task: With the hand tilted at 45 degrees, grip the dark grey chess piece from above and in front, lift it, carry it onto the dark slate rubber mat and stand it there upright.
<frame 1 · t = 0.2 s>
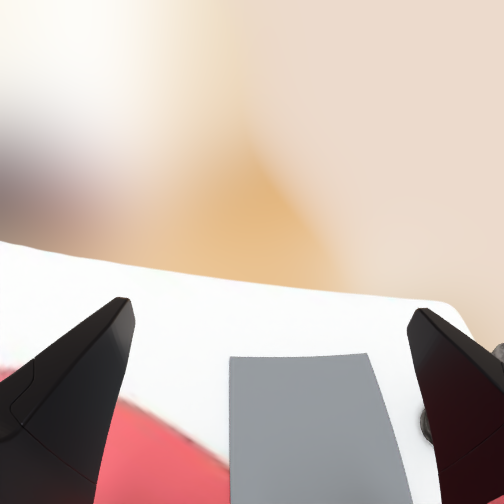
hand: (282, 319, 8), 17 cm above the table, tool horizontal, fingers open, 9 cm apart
mat: (317, 442, 19), on the table
dark grey chess piece: (440, 424, 19), on the table
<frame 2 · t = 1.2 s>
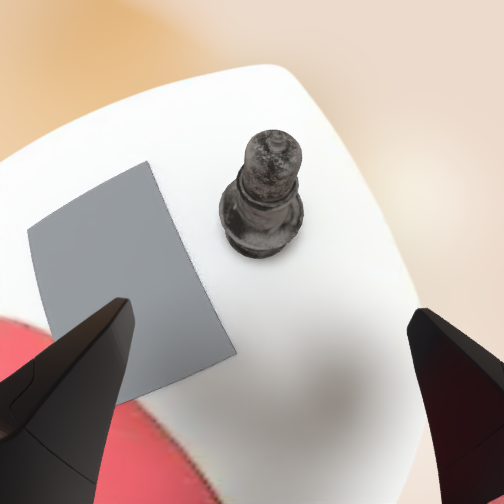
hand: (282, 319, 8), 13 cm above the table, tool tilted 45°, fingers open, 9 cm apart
mat: (109, 285, 21), on the table
dark grey chess piece: (257, 227, 23), on the table
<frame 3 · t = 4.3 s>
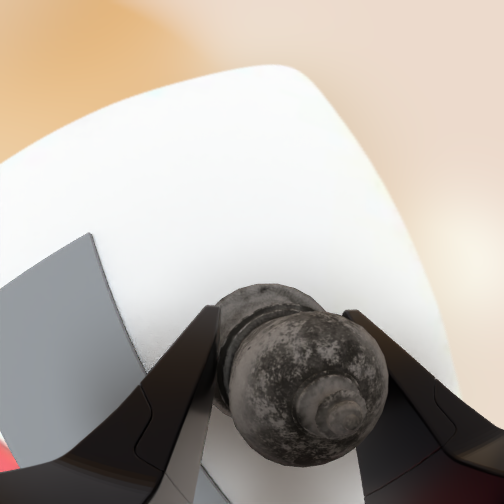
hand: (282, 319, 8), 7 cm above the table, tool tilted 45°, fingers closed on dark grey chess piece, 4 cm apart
mat: (60, 414, 12), on the table
dark grey chess piece: (260, 350, 14), on the table, touching gripper
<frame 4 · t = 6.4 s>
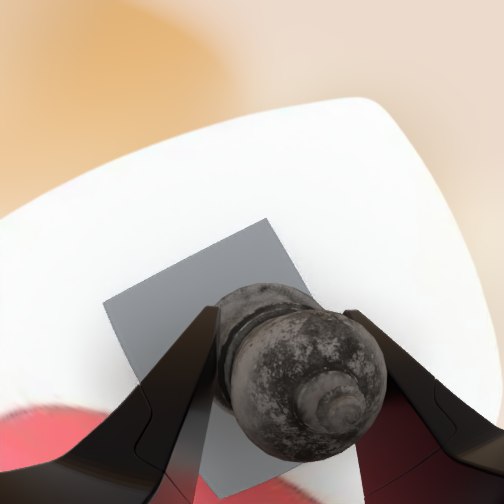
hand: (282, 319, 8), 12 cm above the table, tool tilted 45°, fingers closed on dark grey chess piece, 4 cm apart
mat: (241, 371, 19), on the table
dark grey chess piece: (260, 348, 14), point 5 cm above the table, touching gripper
when the fingers open (8 cm above the table, at t = 8.3 s): dark grey chess piece stays where it is, resting on mat.
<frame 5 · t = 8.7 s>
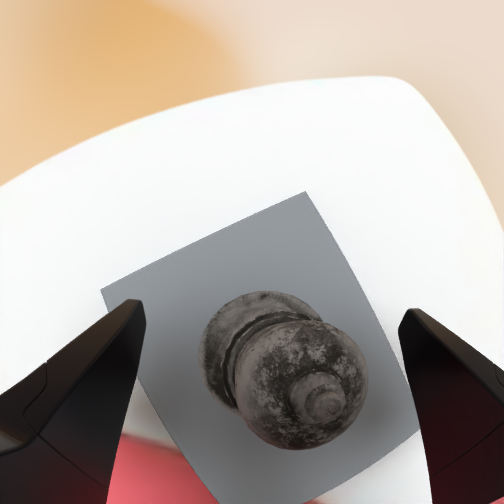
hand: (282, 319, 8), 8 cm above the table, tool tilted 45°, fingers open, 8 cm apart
mat: (274, 378, 15), on the table
dark grey chess piece: (259, 351, 15), resting on mat
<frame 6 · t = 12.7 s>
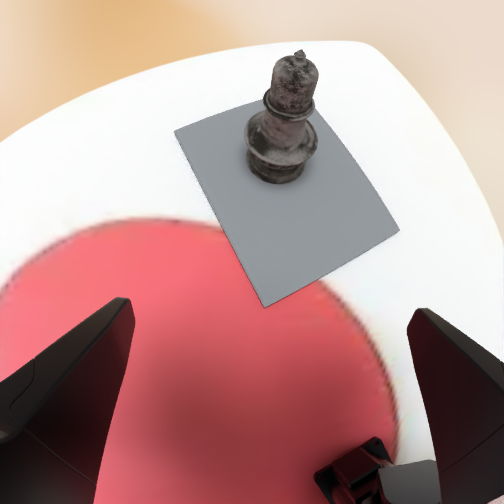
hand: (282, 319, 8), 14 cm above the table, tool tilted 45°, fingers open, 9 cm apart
mat: (286, 176, 25), on the table
dark grey chess piece: (275, 159, 25), resting on mat
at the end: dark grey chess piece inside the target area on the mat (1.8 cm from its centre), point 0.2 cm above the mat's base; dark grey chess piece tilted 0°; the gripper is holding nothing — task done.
